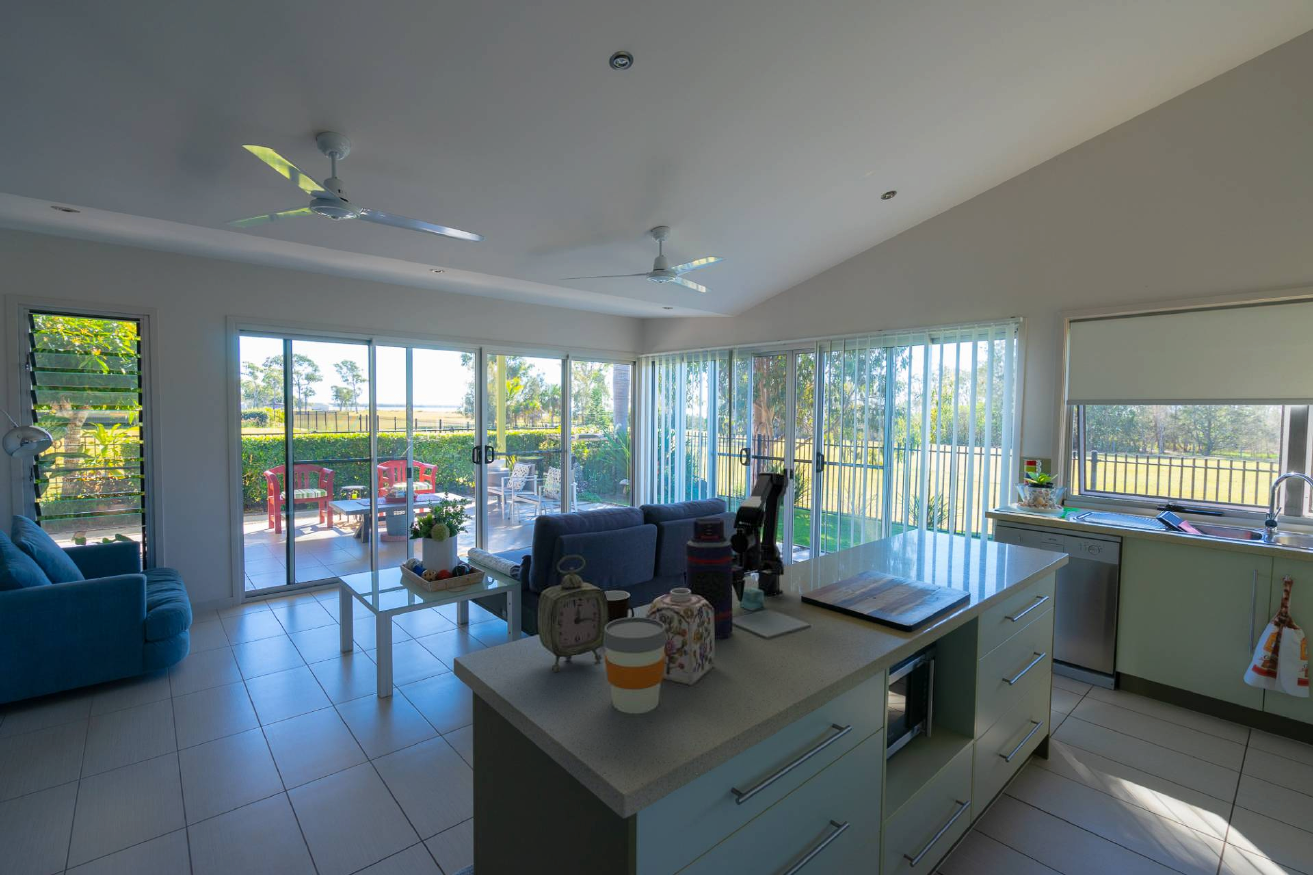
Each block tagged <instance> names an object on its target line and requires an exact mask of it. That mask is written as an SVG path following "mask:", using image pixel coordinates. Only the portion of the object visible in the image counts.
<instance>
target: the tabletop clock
mask: <svg viewBox="0 0 1313 875" xmlns="http://www.w3.org/2000/svg"><path fill="white" fill-rule="evenodd" d="M569 559H580V560H581V561H582V562H583V564H582V566H580V567H579V568H577V569H575V568H574V567H572V566H570V568H569V570H568V571H567V570H562V569H561V568H560V567H561V564H562V563H564V561H566V560H569ZM585 566H586V561H585V558H584V557H583V556H581V555H578V554H573V555H567V556H564V557H563V558H561V559H560V560H559V562H558V563H557V567H556V568H557V571H558V572H560V574H564V575H565V576H564V577H563V578H562V580H560V581H561V582H560V584H559V585H555V586H551V587H547V588H546V589H544V590H543V591H541V593H540V595H539V599H538V605H537V628H538V629H537V631H538V636H539V641H540V643H541V645H542V646H543V647H544V648H545V649H546V650H548V651H549V652H551V654H553V655H554V656H556V657H555V664H553V665H552V667H551V670H552V672H553V671H554V673H558V672H559V670H560V665H559V661H560V658H565V660H566V659H567V660H566V661H570V659H571V660H572V657H573V656H578V655H583V654H585V653H589V652H593V654H594V660H596V661H597V662H600V661H601V660H602V658H603V657H602V654H601V653H598V652H597V649H600V648H601V647H602V646H604V644H603V637H604V628H605V626H606V624H608V619H609V614H608V603H607V598H606V594H605V592H606V591H605V590H603V589H601V588H599V587H598V586H595V585H593V584H591V583H588V582H583V579H582V578H581V577H580V576H579V575H577V573H579V572H581V571H582V570H583V569H584V567H585Z"/></svg>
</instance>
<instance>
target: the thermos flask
mask: <svg viewBox="0 0 1313 875" xmlns="http://www.w3.org/2000/svg"><path fill="white" fill-rule="evenodd" d="M692 524H693V527H692V528H693V536H692V537H691V538H690V540H688V541H686V543H685V556H686V558H685V567H686V569H685V570H686V573H685V576H686V578H685V579H686V582H685V583H686V589H689V590H690V591H691V594H692V595H698V596H701V597H703V598H704V599H705V600H706V601H708V602H709V604H710V605H711V606H712V608H713V609H714V629H715V638H721V640H722V641H725V640H727V639H729V635H730V634H731V633H732V632H733V630H734V628H733V626H734V625H732V618H733V585H732V558H731V556H732V554H733V550H732V543H731V542H730V540H727V538H728V535H727V531H726V529H725V526H724V525H725V522H724V520H723V519H721V518H720V517H719V518H718V517H709V518H708V517H703V518H701V517H700V518H699V517H697V518H695V519H694V520H693V523H692Z"/></svg>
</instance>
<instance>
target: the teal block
mask: <svg viewBox="0 0 1313 875" xmlns="http://www.w3.org/2000/svg"><path fill="white" fill-rule="evenodd" d="M764 597H765V596H764V591H762V590H759V589H758V588H755V587H751V586H750V587H747V588H744V592H743V598H742V601H741V602H740V601H739V607H741V606H742V607H741V608H743V607H744V609H746V608H747V610H750V611H755V610H758V609H757V608H759V609H762V608H761V607H763V608H764V604H765V602H764V601H765V600H764ZM754 609H755V610H754Z"/></svg>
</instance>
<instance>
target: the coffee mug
mask: <svg viewBox="0 0 1313 875" xmlns="http://www.w3.org/2000/svg"><path fill="white" fill-rule="evenodd" d="M604 592H605V594H606V598H607V603H608V614H609V619H608V623H609V622H611V621H614V620H617V619H622V618H629V617H628V616H629V609H630V612H631V617H635V611H634V608H633V607H632V606H631V605H630V597H631V594H630V593H629V592H627V591H625V590H609V591H608V590H607V591H604Z"/></svg>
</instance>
